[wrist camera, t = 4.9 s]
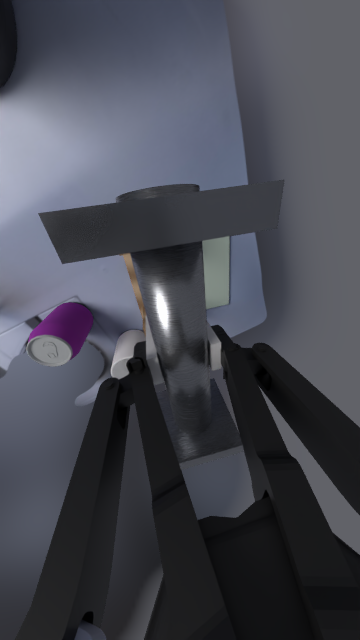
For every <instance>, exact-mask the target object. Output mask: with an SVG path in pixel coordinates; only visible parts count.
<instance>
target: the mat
mask: <svg viewBox="0 0 360 640" xmlns="http://www.w3.org/2000/svg"><path fill="white" fill-rule="evenodd" d="M202 244H203V262H204V281H205V299H206V309H209V308H214V307H218V306H223V305H227V304H229V236H228V237H222V238H216V239H210V240H204V241H202Z"/></svg>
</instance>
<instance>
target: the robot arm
mask: <svg viewBox="0 0 360 640" xmlns="http://www.w3.org/2000/svg"><path fill="white" fill-rule="evenodd" d="M16 51H17V33H16V23H15V17H14V12H13V7H12V3H11V0H0V88H1V87H2V86H3V85H4V84H5V83H6V81H7V80H8V78H9V77H10V75H11V72H12V70H13V67H14V63H15V59H16ZM145 318H146V341H142V342H138V343H136V345H135V346H134V355H133V357H132V358H130V359H129V360H128V361H127V363H126V366H127V369H128V371H129V374H128V375H126V376H125V377H123V378H121V379H119V380H118V378H115V377H111V378H108V379H106V380H105V381H104V382H103V383H102V384H101V385H100V387H99V391H98V394H97V397H96V400H95V404H94V407H93V410H92V413H91V417H90V420H89V423H88V426H87V429H86V432H85V435H84V439H83V442H82V445H81V448H80V451H79V455H78V458H77V461H76V464H75V467H74V470H73V474H72V477H71V480H70V483H69V487H68V490H67V493H66V496H65V499H64V502H63V506H62V509H61V512H60V515H59V518H58V522H57V525H56V528H55V531H54V534H53V538H52V541H51V544H50V547H49V550H48V554H47V557H46V560H45V563H44V567H43V569H42V573H41V576H40V579H39V582H38V585H37V589H36V592H35V595H34V598H33V601H32V605H31V607H30V609H29V611H28V613H27V615H26V618H25V620H24V622H23V624H22V626H21V628H20V630H19V632H18V634H17V636H16V639H15V640H106V637H105V635H104V632H103V631H102V630H101V629H100V626H101V623H102V619H103V614H104V609H105V604H106V599H107V594H108V588H109V581H110V575H111V568H112V559H113V550H114V542H115V533H116V524H117V516H118V506H119V498H120V490H121V481H122V472H123V463H124V455H125V446H126V437H127V428H128V419H129V411H130V405H132V404H133V403H135V406H136V411H137V416H138V421H139V427H140V432H141V438H142V443H143V449H144V454H145V459H146V465H147V470H148V476H149V481H150V486H151V492H152V509H153V516H154V522H155V528H156V533H157V538H158V544H159V550H160V556H161V562H162V567H163V573H164V574H163V578H162V581H161V585H160V588H159V591H158V595H157V598H156V601H155V604H154V608H153V611H152V614H151V618H150V621H149V624H148V628H147V631H146V634H145V638H144V640H360V555H359V554H358V553H357V552H355V551H354V550H353V549H352V548H351V547H349V546H348V545H347V544H346V543H345V542H343V541H342V540H341V539H340V538H338V537H337V536H336V535H335V534H334V533H333V532H332V531H331V529H330V527H329V525H328V522H327V520H326V518H325V516H324V514H323V512H322V510H321V508H320V506H319V504H318V501H317V499H316V497H315V495H314V493H313V491H312V489H311V487H310V485H309V483H308V480H307V478H306V476H305V474H304V472H303V470H302V468H301V466H300V464H299V463H298V461H297V460H296V459H295V458H294V457H292V456H291V455H290V454H289V452H288V450H287V448H286V446H285V444H284V441H283V439H282V437H281V435H280V432H279V430H278V428H277V426H276V423H275V421H274V419H273V417H272V415H271V413H270V410H269V408H268V406H267V404H266V401H265V399H264V397H263V395H262V392H261V390H260V388H261V389H262V391H263V392H264V393H265V394H266V396H267V397H268V398H269V400H270V401H271V402H272V404H273V405H274V406H275V407H276V409H277V410H278V412H279V413H280V414H281V415H282V417H283V418H284V419H285V421H286V422H287V423H288V424H289V426H290V427H291V429H292V430H293V431H294V432H295V434H296V435H297V436H298V438H299V439H300V440H301V442H302V443H303V444H304V446H305V447H306V448H307V449H308V451H309V452H310V453H311V455H312V456H313V457H314V459H315V460H316V461H317V463H318V464H319V465H320V467H321V468H322V469H323V471H324V472H325V473H326V474H327V476H328V477H329V478H330V480H331V481H332V482H333V484H334V485H335V486H336V487H337V489H338V490H339V491H340V493H341V494H342V495H343V496H344V498H345V499H346V500H347V501H348V502H349V504H350V505H351V506H352V507H353V508H354V510H355V511H356V512H357V513H358V514H359V515H360V428H359V427H358V426H357V425H356V424H355V423H354V422H353V421H352V420H351V419H350V418H349V417H347V416H346V415H345V414H344V413H343V412H342V411H341V410H340V409H339V408H338V407H336V406H335V405H334V404H333V403H332V402H331V401H330V400H329V399H328V398H327V397H325V396H324V395H323V394H322V393H321V392H320V391H319V390H318V389H317V388H316V387H314V386H313V385H312V384H311V383H310V382H309V381H308V380H307V379H306V378H304V377H303V376H302V375H301V374H300V373H299V372H298V371H297V370H296V369H295V368H293V367H292V366H291V365H290V364H289V363H288V362H287V361H286V360H285V359H284V358H282V357H281V356H280V355H279V354H278V353H277V352H276V351H275V350H274V349H273V348H271V347H270V346H269V345H267V344H265V343H256V344H254V345H253V347H252V348H241V347H240V345H238V344H235V343H233V342H232V340H231V339H230V337H229V336H228V335H227V334H226V332H225V331H224V329H223V328H222V327H220V326H219V325H214V326H210V325H209V323H208V322H207V336H208V355H209V365H210V367H211V369H212V371H213V370H218V369H221V365H222V366H223V368H224V370H223V379H225V380H226V384H227V388H228V391H229V395H230V399H231V403H232V407H233V411H234V414H235V418H236V422H237V426H238V430H239V433H240V437H241V441H242V445H243V449H244V452H245V456H246V460H247V463H248V467H249V471H250V475H251V480H252V488H253V493H254V498H255V502H254V503H253V504H252V505H251V506H250V507H249V508H248V509H246V510H245V511H244V512H243V513H242V514H241V515H240V516H239V517H237V518H229V517H217V516H209V517H206V518H203V519H200V520H197V518H196V514H195V511H194V508H193V505H192V502H191V499H190V496H189V493H188V490H187V487H186V484H185V481H184V478H183V475H182V471H181V468H180V465H179V462H178V459H177V456H176V453H175V450H174V447H173V444H172V441H171V438H170V435H169V431H168V428H167V425H166V422H165V419H164V416H163V413H162V410H161V407H160V404H159V401H158V398H157V395H156V392H155V388H154V385H156V384H160V383H164V379H163V374H162V370H161V366H160V363H159V359H158V355H157V351H156V349H155V345H154V341H153V338H152V334H151V330H150V326H149V323H148V319H147V315H146V316H145ZM153 382H154V383H153ZM258 385H259V386H258ZM259 387H260V388H259Z"/></svg>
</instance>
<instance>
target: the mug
mask: <svg viewBox="0 0 360 640" xmlns="http://www.w3.org/2000/svg"><path fill="white" fill-rule="evenodd" d="M142 341H146V337H145V334H144V332H143V331H140V330H129V331H126V332H124V333H123V334H122V335H121V336H120V337H119V339H118V341H117V345H116V350H115V354H114V359H113V363H112V368H111V375H112V377H115V378H118V380H119V379H121V378H123V377H125V376H126V375H128V374H129V371H128V369H127V366H126V363H127V361H128V360H129V359H130V358H132V357H133V355H134V346H135V345H136V343H138V342H142Z"/></svg>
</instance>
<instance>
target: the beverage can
mask: <svg viewBox="0 0 360 640" xmlns="http://www.w3.org/2000/svg"><path fill="white" fill-rule="evenodd" d="M92 325H93V316H92V314H91V312H90V311H89V310H88V309H87V308H86V307H84V306H83V305H80V304H78V303H71V302H69V303H63V304H62V305H60V306H58V307H57V308H56V309H54V310H53V311H52V312H51V313H50V314H49V315H48V316H47V317H46V318H45V319H44V320H43V321H42V322H41V323H40V324H39V325H38V326H37V327H36V328H35V329H34V330H33V331H32V332H31V333H30V337H29V341H28V344H27V348H26V349H27V353H28V355H29V356H30V358H31V359H33V360H34V361H35V362H37V363H39V364H42V365H46V366H60V365H63V364H65V363H67V362H68V361H69V360H71V359H72V358H74V357H75V356H76V355H77V354H78V353H79V351H80V349H81V347H82V345H83V343H84V341H85V339H86V337H87V335H88V333H89V331H90V329H91V327H92Z"/></svg>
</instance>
